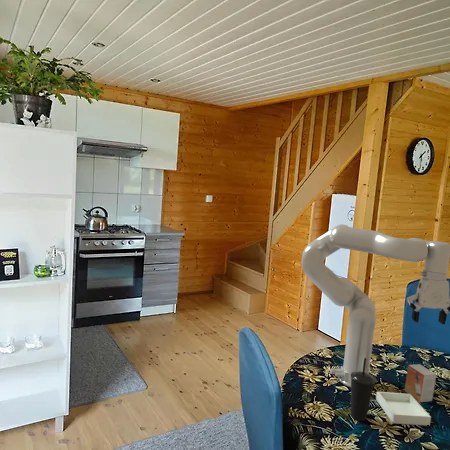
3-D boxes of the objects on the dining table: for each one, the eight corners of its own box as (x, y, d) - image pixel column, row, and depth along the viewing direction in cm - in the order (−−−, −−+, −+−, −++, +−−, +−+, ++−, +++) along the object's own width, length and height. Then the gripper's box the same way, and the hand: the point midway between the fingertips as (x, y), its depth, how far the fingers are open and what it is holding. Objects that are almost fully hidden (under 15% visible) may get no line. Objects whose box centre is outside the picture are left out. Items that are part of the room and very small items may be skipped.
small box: (404, 391, 150) (407, 364, 149) (416, 389, 151) (419, 363, 150) (420, 402, 142) (424, 374, 141) (432, 401, 144) (436, 373, 143)
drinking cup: (351, 407, 136) (358, 351, 134) (373, 416, 131) (381, 358, 129) (342, 416, 130) (349, 357, 128) (365, 426, 125) (373, 366, 123)
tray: (393, 423, 128) (394, 414, 128) (376, 399, 142) (377, 391, 142) (429, 425, 128) (431, 416, 128) (409, 401, 142) (410, 393, 142)
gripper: (415, 276, 138) (409, 324, 140) (464, 280, 138) (458, 327, 140) (405, 271, 145) (400, 317, 147) (452, 275, 146) (445, 320, 148)
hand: (428, 322), depth 144 cm, fingers open, 9 cm apart
